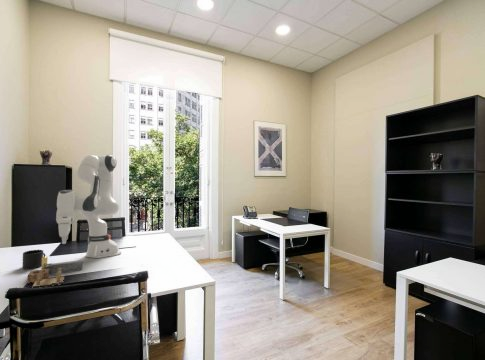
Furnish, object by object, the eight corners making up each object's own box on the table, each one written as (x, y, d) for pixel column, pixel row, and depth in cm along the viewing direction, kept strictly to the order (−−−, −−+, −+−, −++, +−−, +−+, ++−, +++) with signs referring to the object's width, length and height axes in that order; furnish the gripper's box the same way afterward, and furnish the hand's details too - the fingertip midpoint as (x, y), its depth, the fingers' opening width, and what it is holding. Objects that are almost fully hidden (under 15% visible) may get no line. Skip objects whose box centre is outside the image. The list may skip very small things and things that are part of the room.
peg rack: (64, 278, 134) (64, 267, 134) (62, 283, 128) (63, 271, 128) (35, 282, 128) (36, 270, 128) (32, 288, 121) (32, 275, 121)
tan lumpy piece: (49, 275, 137) (49, 268, 137) (47, 280, 131) (47, 272, 131) (30, 278, 133) (30, 270, 133) (27, 283, 127) (27, 275, 127)
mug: (50, 263, 156) (51, 249, 156) (30, 270, 144) (30, 254, 144) (39, 262, 158) (39, 248, 158) (18, 268, 147) (18, 253, 147)
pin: (47, 269, 146) (47, 256, 146) (46, 271, 144) (47, 257, 144) (41, 270, 145) (42, 256, 145) (40, 272, 142) (41, 258, 142)
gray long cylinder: (82, 267, 151) (83, 259, 151) (82, 270, 147) (82, 261, 147) (45, 272, 141) (45, 264, 141) (43, 275, 137) (44, 266, 137)
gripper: (61, 215, 151) (60, 238, 151) (56, 220, 134) (55, 246, 134) (73, 215, 155) (72, 237, 155) (70, 220, 137) (70, 245, 137)
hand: (64, 241), depth 144 cm, fingers open, 8 cm apart
